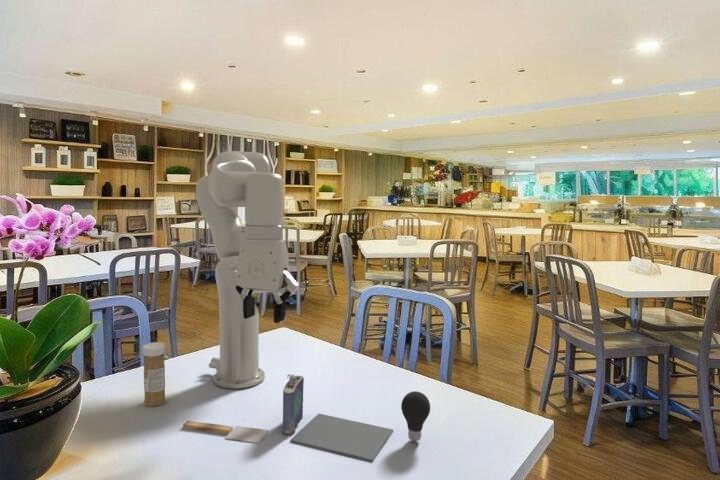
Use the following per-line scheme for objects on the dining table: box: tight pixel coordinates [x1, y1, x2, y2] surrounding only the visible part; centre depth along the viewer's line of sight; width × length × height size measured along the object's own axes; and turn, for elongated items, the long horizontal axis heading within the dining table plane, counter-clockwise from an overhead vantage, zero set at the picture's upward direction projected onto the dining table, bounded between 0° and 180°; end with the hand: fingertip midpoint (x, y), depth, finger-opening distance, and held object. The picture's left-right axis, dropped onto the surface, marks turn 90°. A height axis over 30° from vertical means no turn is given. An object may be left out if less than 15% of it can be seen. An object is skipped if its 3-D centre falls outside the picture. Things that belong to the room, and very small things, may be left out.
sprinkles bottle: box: [142, 341, 166, 407], centre depth 108 cm, size 5×5×14 cm
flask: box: [281, 373, 305, 437], centre depth 100 cm, size 9×3×11 cm, turn 172°
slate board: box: [290, 412, 394, 463], centre depth 96 cm, size 17×12×1 cm
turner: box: [182, 420, 269, 445], centre depth 97 cm, size 17×5×1 cm, turn 78°
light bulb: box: [400, 391, 431, 443], centre depth 94 cm, size 6×6×10 cm
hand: (264, 318), depth 101 cm, fingers open, 6 cm apart
